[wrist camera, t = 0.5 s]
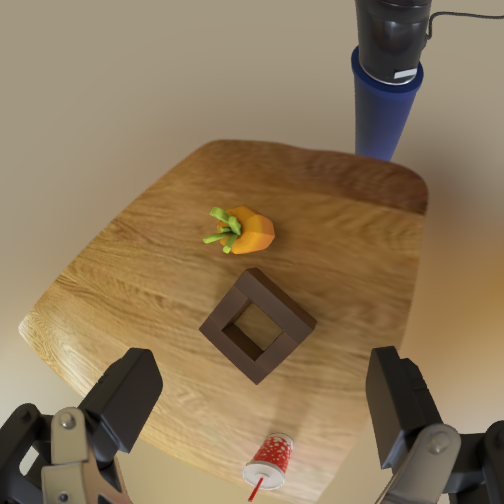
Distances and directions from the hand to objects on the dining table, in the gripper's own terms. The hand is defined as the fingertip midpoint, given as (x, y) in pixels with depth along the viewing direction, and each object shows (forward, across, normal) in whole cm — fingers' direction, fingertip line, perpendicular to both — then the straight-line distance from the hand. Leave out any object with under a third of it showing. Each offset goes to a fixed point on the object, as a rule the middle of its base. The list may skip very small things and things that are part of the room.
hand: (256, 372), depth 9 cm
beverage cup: (+18, +2, +34) cm, 39 cm away
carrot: (+29, +2, +3) cm, 29 cm away
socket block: (+25, +4, +14) cm, 29 cm away
